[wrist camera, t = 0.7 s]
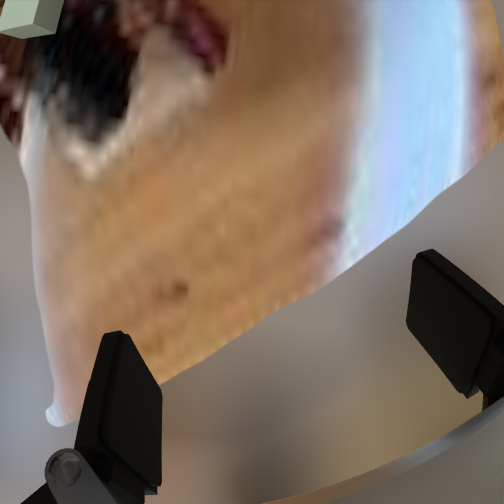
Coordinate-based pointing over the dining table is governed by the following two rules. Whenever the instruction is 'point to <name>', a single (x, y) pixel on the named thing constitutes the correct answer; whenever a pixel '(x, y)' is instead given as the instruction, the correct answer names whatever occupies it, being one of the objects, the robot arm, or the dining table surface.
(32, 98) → the dining table surface
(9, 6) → the sage block
